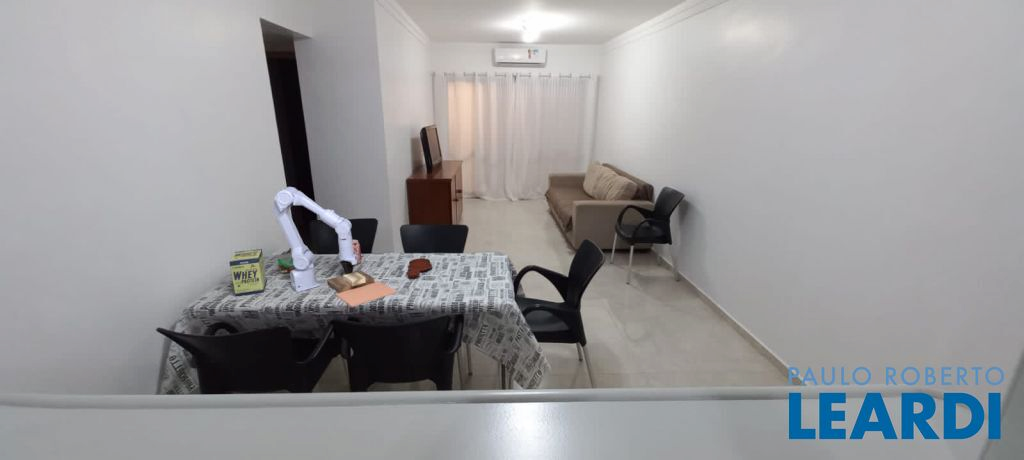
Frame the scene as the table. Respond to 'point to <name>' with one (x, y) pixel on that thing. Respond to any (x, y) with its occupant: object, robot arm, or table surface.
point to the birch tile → (354, 278)
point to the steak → (418, 267)
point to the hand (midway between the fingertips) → (349, 275)
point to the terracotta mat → (365, 293)
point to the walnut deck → (343, 286)
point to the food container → (286, 262)
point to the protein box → (248, 272)
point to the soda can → (357, 251)
